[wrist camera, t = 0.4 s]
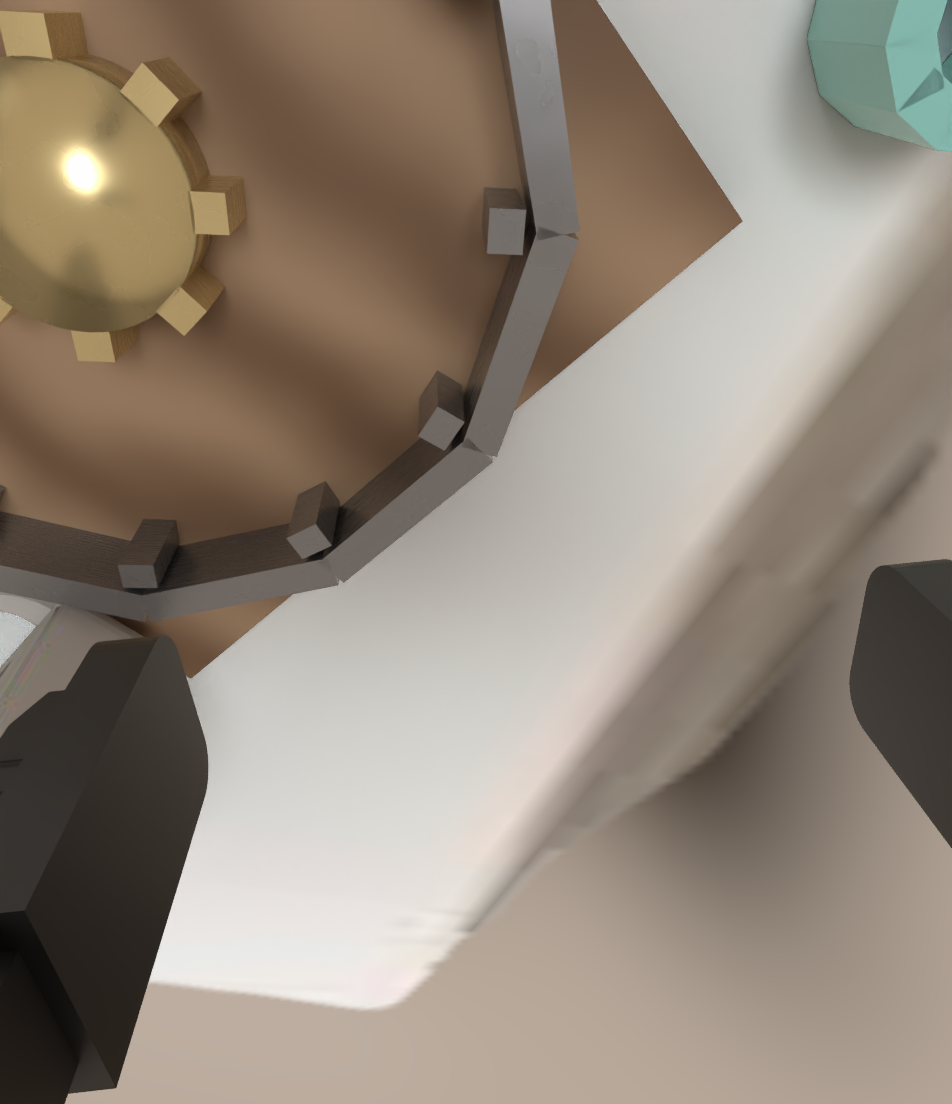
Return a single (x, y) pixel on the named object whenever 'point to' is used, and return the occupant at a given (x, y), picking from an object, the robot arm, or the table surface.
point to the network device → (49, 650)
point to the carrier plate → (336, 262)
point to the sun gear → (102, 189)
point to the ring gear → (444, 413)
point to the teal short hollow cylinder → (885, 67)
